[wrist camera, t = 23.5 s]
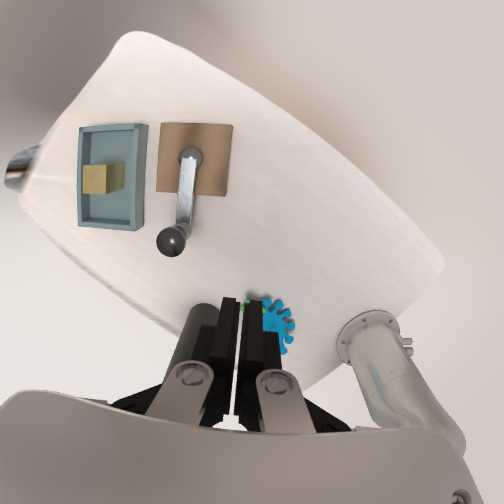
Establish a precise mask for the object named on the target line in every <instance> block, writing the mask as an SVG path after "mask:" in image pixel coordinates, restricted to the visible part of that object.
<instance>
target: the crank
mask: <svg viewBox="0 0 504 504" xmlns="http://www.w3.org/2000/svg"><path fill="white" fill-rule="evenodd" d="M202 160H203V156H202V153H201V151H200V150H199V149H197V148H195V147H186V148H184V149H182V150H181V151H180V153H179V155H178V163H179V165H180V167H181V171H180V181H179V190H178V201H177V213H176V224H175V225H174V226H173V227H167V228H165V229H163V230H162V231H161V232H160V233H159V234H158V236H157V240H156V243H157V247H158V249H159V251H160V252H161V253H162V254H163V255H165V256H167V257H176V256H178V255H180V254H181V253H182V251H183V250H184V248H185V246H186V240H187V239H188V238H189V237H190V234H191V222H192V211H193V201H194V192H195V183H196V174H197V168H198V167H199V166H200V165H201V163H202Z"/></svg>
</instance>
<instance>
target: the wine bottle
mask: <svg viewBox="0 0 504 504" xmlns="http://www.w3.org/2000/svg"><path fill="white" fill-rule="evenodd" d="M219 313H220V311H219V310H218V309H217V308H216V307H214V306H212V305H210V304H198V305H196V306H194V307H193V308H192V309H191V311H190V313H189V316H188V318H187V321H186V323H185V326H184V328H183V331H182V333H181V336H180V338H179V341H178V343H177V346H176V349H175V351H174V354H173V356H172V359H171V361H170V364H169V367H168V369H167V372H166V375H165V377H164V380H163V382H162V383H164V382H165V380H166V379H167V377H168V375H169V374H170V372H171V371H172V369H173V368H174V367H175V366H176V365H177V364H179V363H180V362H184V361H190V360H191V356H192V353H193V350H194V347H195V343H196V340H197V337H198V334H199V330H200V327H201V325H202V324H206V325H214V326H217V322H218V317H219Z"/></svg>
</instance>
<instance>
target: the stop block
mask: <svg viewBox="0 0 504 504" xmlns="http://www.w3.org/2000/svg"><path fill="white" fill-rule="evenodd" d="M124 177H125V163H96V164H88V165H83V194H108V193H111V192H114V191H117V190H121V189H124Z"/></svg>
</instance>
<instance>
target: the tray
mask: <svg viewBox="0 0 504 504" xmlns="http://www.w3.org/2000/svg"><path fill="white" fill-rule="evenodd" d="M148 126H149V125H144V124H117V125H102V126H90V127H80V128H79V141H78V159H77V211H78V226H82V227H93V228H104V229H115V230H125V231H137V230H138V229H139V228H141V227H142V226H144V186H145V165H146V149H147V137H148ZM96 163H125V177H124V189H121V190H117V191H114V192H111V193H108V194H83V165H88V164H96Z"/></svg>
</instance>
